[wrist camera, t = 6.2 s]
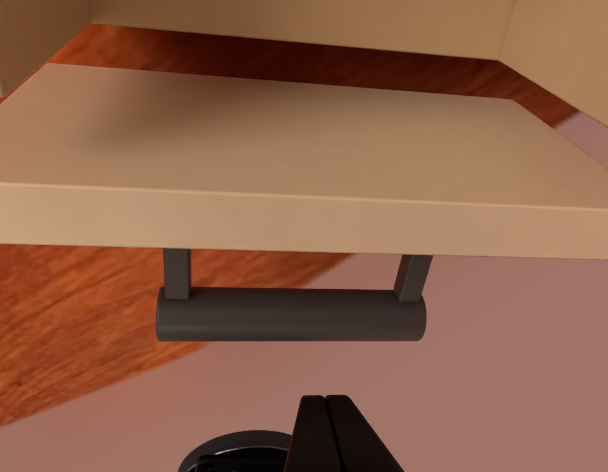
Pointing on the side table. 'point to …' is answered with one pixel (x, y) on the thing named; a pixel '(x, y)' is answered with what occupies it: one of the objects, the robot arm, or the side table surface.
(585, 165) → the drawer
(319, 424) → the robot arm
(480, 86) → the side table surface
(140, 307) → the side table surface
